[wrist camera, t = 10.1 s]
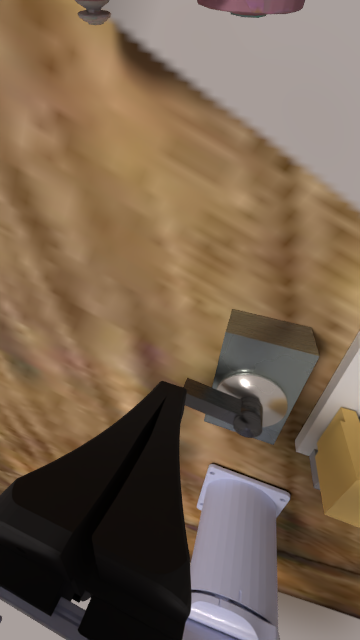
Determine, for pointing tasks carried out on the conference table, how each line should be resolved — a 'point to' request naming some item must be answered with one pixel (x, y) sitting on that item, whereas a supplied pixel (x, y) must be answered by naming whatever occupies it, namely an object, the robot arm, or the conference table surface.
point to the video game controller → (240, 3)
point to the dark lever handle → (226, 408)
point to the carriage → (340, 467)
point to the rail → (332, 405)
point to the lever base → (265, 367)
